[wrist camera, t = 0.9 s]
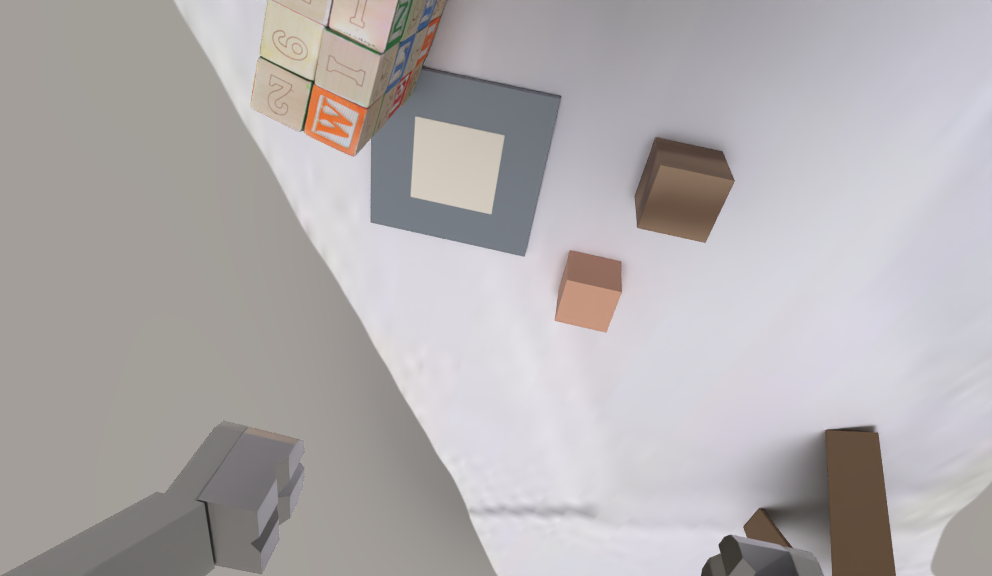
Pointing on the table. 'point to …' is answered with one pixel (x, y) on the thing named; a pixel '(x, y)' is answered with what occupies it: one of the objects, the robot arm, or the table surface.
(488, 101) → the grey flat square plate
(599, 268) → the terracotta block
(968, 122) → the table surface
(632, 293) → the table surface
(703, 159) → the walnut block
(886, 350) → the table surface
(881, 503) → the photo frame
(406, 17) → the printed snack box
